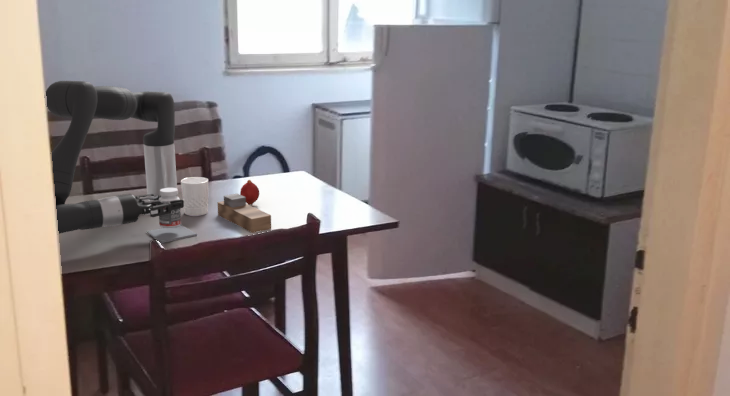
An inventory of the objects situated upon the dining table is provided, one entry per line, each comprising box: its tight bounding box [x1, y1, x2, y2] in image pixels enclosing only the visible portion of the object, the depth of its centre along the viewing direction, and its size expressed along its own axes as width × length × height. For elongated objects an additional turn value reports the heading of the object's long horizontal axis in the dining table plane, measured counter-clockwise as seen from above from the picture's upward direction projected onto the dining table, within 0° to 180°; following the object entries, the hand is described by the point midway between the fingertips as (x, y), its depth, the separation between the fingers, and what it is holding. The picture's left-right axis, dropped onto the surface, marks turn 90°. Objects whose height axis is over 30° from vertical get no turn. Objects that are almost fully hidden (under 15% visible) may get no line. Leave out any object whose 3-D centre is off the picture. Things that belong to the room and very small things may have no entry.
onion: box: [239, 179, 260, 206], centre depth 227 cm, size 6×6×8 cm
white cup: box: [180, 176, 209, 217], centre depth 218 cm, size 8×8×10 cm
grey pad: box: [146, 224, 198, 244], centre depth 200 cm, size 10×10×1 cm
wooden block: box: [217, 193, 272, 234], centre depth 211 cm, size 20×6×6 cm, turn 38°
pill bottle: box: [158, 187, 182, 228], centre depth 198 cm, size 6×6×10 cm
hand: (177, 200), depth 199 cm, fingers closed on pill bottle, 5 cm apart
